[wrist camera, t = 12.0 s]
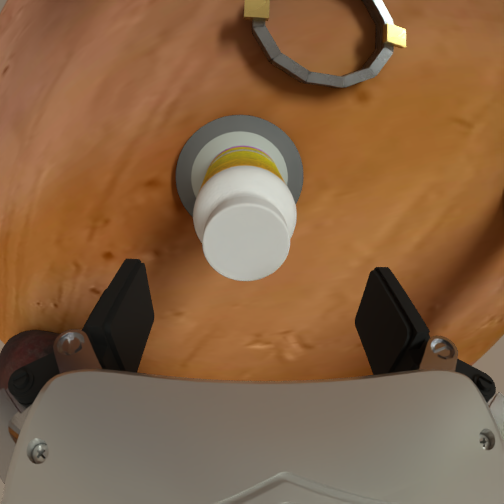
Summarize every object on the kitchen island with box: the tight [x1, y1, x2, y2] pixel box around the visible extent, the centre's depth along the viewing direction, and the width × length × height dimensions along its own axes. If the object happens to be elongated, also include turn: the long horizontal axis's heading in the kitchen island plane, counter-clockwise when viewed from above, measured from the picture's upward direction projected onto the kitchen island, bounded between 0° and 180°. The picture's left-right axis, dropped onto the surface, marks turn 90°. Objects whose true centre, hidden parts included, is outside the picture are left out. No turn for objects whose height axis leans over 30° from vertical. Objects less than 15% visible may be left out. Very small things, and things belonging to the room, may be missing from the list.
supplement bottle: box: [193, 145, 297, 281], centre depth 21 cm, size 7×7×13 cm
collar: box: [244, 0, 406, 88], centre depth 18 cm, size 15×13×3 cm
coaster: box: [176, 115, 303, 217], centre depth 27 cm, size 12×12×1 cm
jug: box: [0, 330, 60, 390], centre depth 30 cm, size 25×25×25 cm
